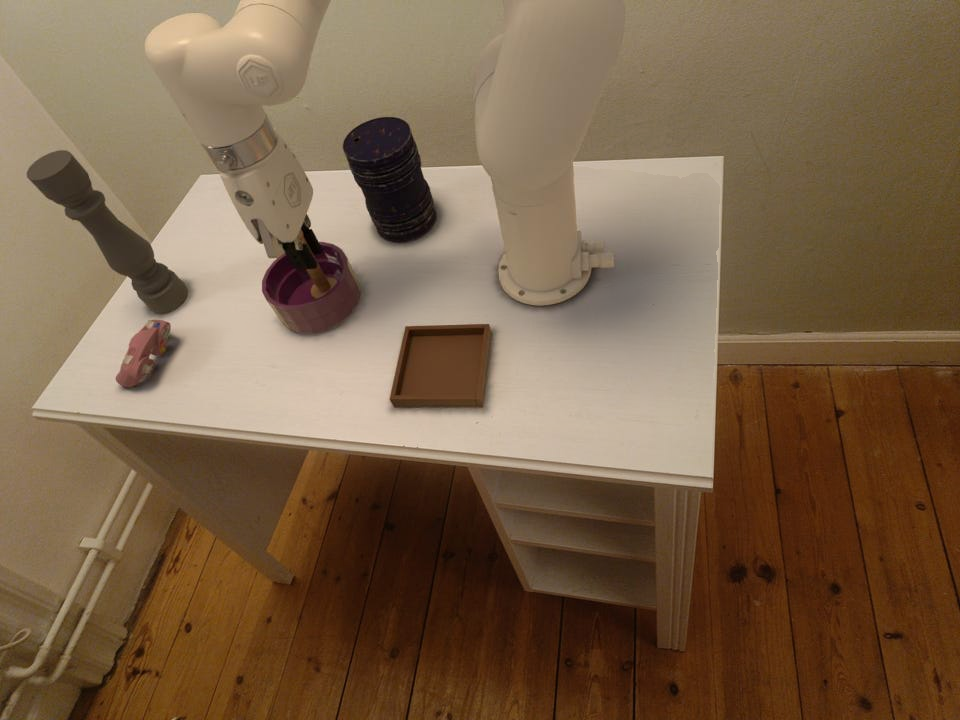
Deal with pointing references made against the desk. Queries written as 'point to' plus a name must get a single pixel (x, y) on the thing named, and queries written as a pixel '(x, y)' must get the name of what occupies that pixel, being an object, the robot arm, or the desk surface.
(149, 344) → the pink toy
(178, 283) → the candle holder
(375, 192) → the storage jar
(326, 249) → the bowl
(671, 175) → the desk surface
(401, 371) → the tray
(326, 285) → the brush
